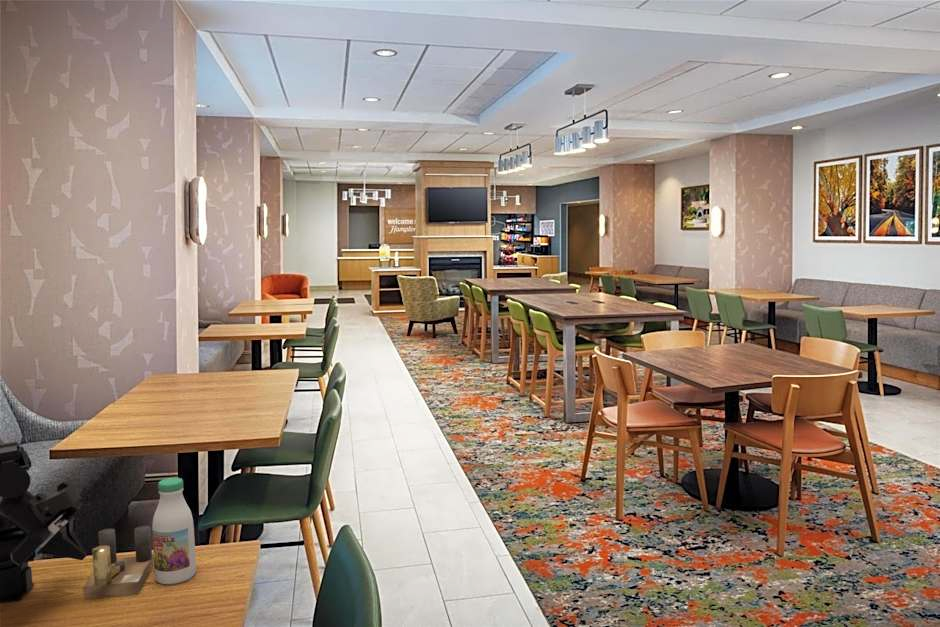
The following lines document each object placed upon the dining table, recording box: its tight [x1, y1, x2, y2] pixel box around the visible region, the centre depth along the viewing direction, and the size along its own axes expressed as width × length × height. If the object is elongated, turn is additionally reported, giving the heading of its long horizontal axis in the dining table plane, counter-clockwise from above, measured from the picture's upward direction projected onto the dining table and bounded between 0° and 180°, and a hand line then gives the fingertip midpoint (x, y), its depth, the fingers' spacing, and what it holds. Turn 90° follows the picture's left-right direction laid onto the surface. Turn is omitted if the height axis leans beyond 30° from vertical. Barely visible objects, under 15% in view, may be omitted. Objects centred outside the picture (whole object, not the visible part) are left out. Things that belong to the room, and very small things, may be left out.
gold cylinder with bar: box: [91, 545, 120, 585], centre depth 136 cm, size 6×3×6 cm, turn 175°
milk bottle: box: [151, 477, 197, 585], centre depth 142 cm, size 8×8×20 cm
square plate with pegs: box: [82, 525, 154, 600], centre depth 140 cm, size 10×12×9 cm
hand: (84, 557), depth 134 cm, fingers closed
